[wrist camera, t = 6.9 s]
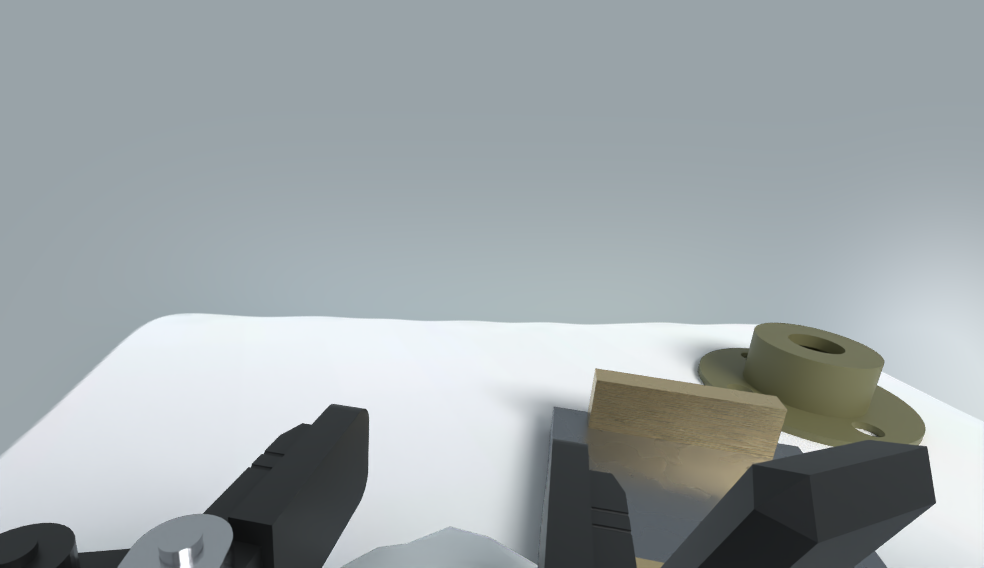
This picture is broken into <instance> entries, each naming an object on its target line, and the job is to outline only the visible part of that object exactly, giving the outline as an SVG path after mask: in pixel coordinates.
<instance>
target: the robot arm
mask: <svg viewBox="0 0 984 568" xmlns="http://www.w3.org/2000/svg"><path fill="white" fill-rule="evenodd" d="M368 447H369V414H368V411H367V410H366V409H363V408H356V407H350V406H343V405H337V404H331V405H330V406H329V407H328V408H327V409H326V410H325V411H324V412H323V413H322V414H321V415H320V416H319V417H318V419H317V420H316V421H315V422H314V423H313V424H312V425H310V424H304V423H302V424H300V425H298V426H297V427H295V428H293V429H291V430H289V431H287V432H285V433H283V434H281V435H280V436H279V437H278V438H277V439H276V440H275V441H274V442H273V443H272V444H271V445H270V446H269V447H268V448H267V449H266V450H265V453H264V454H261V455H260V456H259V457H258V458H257V459H256V460H255V461H254V462H253V463H252V466H251V468H250V467H248V468H247V469H246V470H245V471H244V472H243V473H242V474H241V475H240V477H239V478H238V479H237V480H236V481H235V482H234V483H233V484H232V485H231V486H230V487H229V488H228V489H227V490H226V491H225V492H224V493H223V494H222V495H221V496H220V497H219V498H218V499H217V500H216V501H215V502H214V503H213V504H212V505H211V506H210V507H209V508H208V509H207V510H206V511H205V512H204V513H203V514H193V515H187V516H182V517H178V518H175V519H172V520H169V521H167V522H165V523H162V524H160V525H158V526H157V527H155V528H153V529H152V530H150V531H149V532H147V533H146V534H144V535H143V536H142V537H141V538H140V539H139V540H138V541H137V542H136V543H135V544H134V545H133V546H132V548H131V549H122V550H109V551H96V552H84V553H78V551H77V546H76V540H75V535H74V533H73V531H72V530H71V529H70V528H68V527H66V526H65V525H61V524H56V523H39V524H32V525H27V526H22V527H19V528H15V529H12V530H9V531H6V532H4V533H1V534H0V568H322V566H323V565H324V563H325V561H326V560H327V558H328V556H329V554H330V553H331V551H332V549H333V548H334V546H335V544H336V542H337V541H338V539H339V537H340V536H341V534H342V532H343V530H344V529H345V527H346V525H347V524H348V522H349V520H350V518H351V517H352V515H353V513H354V512H355V510H356V508H357V506H358V505H359V503H360V501H361V499H362V496H363V493H364V490H365V487H366V482H367V477H368ZM628 514H629V512H628V505H627V499H626V492H625V491H624V490H623V488H622V487H621V485H620V484H619V483H618V481H617V480H616V478H615V477H614V475H613V474H612V473H605V472H599V471H593V470H589V453H588V444H586V443H579V442H573V441H566V440H560V439H554V438H552V443H551V450H550V458H549V466H548V473H547V481H546V488H545V496H544V504H543V512H542V521H541V531H540V543H539V555H538V568H637V565H636V558H635V552H634V545H633V538H632V535H631V525H630V519H629V517H628Z"/></svg>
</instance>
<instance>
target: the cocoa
mask: <svg viewBox="0 0 984 568" xmlns="http://www.w3.org/2000/svg"><path fill="white" fill-rule="evenodd" d="M935 503H936V500H935V494H934V487H933V481H932V475H931V468H930V462H929V455H928V449H927V446H919V445H910V444H901V443H893V442H884V441H875V440H865V441H860V442H855V443H851V444H846V445H841V446H836V447H832V448H827V449H822V450H817V451H813V452H808V453H803V454H798V455H794V456H789V457H784V458H779V459H775V460H770V461H765V462H760V463H756V464H752V465H751V466H750V467H749V469H748V470H747V471H746V472H745V473H744V474H743V475H742V476H741V478H740V479H739V480H738V481H737V482H736V483H735V484H734V485H733V487H732V488H731V489H730V490H729V491H728V492H727V493H726V494H725V496H724V497H723V498H722V499H721V500H720V501H719V502H718V503H717V505H716V506H715V507H714V508H713V509H712V510H711V511H710V512H709V514H708V515H707V516H706V517H705V518H704V519H703V520H702V521H701V523H700V524H699V525H698V526H697V527H696V528H695V529H694V531H693V532H692V533H691V534H690V535H689V536H688V537H687V538H686V540H685V541H684V542H683V543H682V544H681V545H680V546H679V547H678V549H677V550H676V551H675V552H674V553H673V554H672V555H671V556H670V558H669V559H668V560H667V561H666V562H665V563H664V564H663V565H662V567H661V568H853V567H855V566H856V565H857V564H859V563H860V562H861V561H862V560H864V559H865V558H866V557H868V556H869V555H870V554H871V553H873V552H874V551H875V550H876V549H878V548H879V547H880V546H882V545H883V544H884V543H885V542H887V541H888V540H889V539H891V538H892V537H893V536H894V535H896V534H897V533H898V532H899V531H901V530H902V529H903V528H905V527H906V526H907V525H908V524H910V523H911V522H912V521H914V520H915V519H916V518H917V517H919V516H920V515H921V514H922V513H924V512H925V511H926V510H928V509H929V508H930V507H931V506H933V505H934V504H935ZM341 568H538V565H537V564H535V563H533V562H532V561H530V560H528V559H526V558H525V557H523V556H521V555H520V554H518V553H516V552H514V551H513V550H511V549H509V548H508V547H506V546H504V545H502V544H501V543H499V542H497V541H496V540H494V539H492V538H490V537H488V536H484V535H480V534H476V533H472V532H469V531H465V530H461V529H457V528H453V527H448V528H445V529H443V530H440V531H438V532H435V533H433V534H430V535H428V536H425V537H422V538H420V539H417V540H415V541H412V542H410V543H407V544H400V545H393V546H385V547H378V548H376V549H374V550H372V551H370V552H368V553H366V554H364V555H363V556H361V557H359V558H357V559H355V560H353V561H351V562H350V563H348V564H346V565H344V566H343V567H341Z"/></svg>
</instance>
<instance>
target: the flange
mask: <svg viewBox="0 0 984 568" xmlns="http://www.w3.org/2000/svg"><path fill="white" fill-rule="evenodd" d="M746 358H747V359H746ZM883 365H884V359H883V358H882V357H881V355H879V354H878V353H877V352H875V351H874V350H872V349H871V348H869V347H867V346H865V345H863V344H861V343H859V342H856V341H854V340H851V339H849V338H846V337H843V336H840V335H837V334H834V333H831V332H827V331H823V330H820V329H816V328H811V327H806V326H801V325H795V324H786V323H764V324H760V325H757V326H756V327H755V329H754V333H753V337H752V340H751V344H750V348H729V349H721V350H716V351H712V352H710V353H708V354H706V355H705V356H703V357H702V359H701V361H700V364H699V369H698V372H699V376H700V378H701V380H702V382H703V383H704V384H705V385H706V386H713V387H719V388H726V389H732V390H739V391H745V392H752V393H758V394H765V395H771V396H777V397H778V399H779V400H780V401H781V402H782V404H783V405H784V406H785V407H786V409H787V413H786V416H785V419H784V423H783V426H782V430H781V431H783V432H786V433H788V434H791V435H794V436H797V437H800V438H803V439H807V440H810V441H813V442H817V443H821V444H825V445H829V446H833V447H836V446H841V445H846V444H851V443H855V442H860V441H865V440H875V441H884V442H893V443H901V444H910V445H919V444H920V443H921V441H922V439H923V436H924V434H925V425H924V422H923V420H922V419H921V417H920V416H919V415H918V414H917V412H916V411H915V410H914V409H912V408H911V407H910V406H909V405H908V404H907V403H905V402H904V401H902V400H901V399H900V398H898V397H897V396H895V395H893V394H892V393H890V392H888V391H887V390H885V389H883V388H881V387H879V386H877V383H878V380H879V377H880V374H881V371H882V368H883ZM855 428H859V429H863V430H866V431H869V432H871V433H874V434H875V435H877V436H879V437H874V436H870V435H867V434H864V433H862V432H860V431H858V430H857V429H855Z"/></svg>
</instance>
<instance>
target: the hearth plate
mask: <svg viewBox="0 0 984 568" xmlns="http://www.w3.org/2000/svg"><path fill="white" fill-rule="evenodd" d="M786 413H787V409H786V407H785V406H784V405H783V404H782V402H781V401H780V400H779V399H778V397H777V396H771V395H765V394H758V393H752V392H745V391H739V390H732V389H726V388H719V387H713V386H706V385H700V384H693V383H687V382H680V381H674V380H667V379H661V378H654V377H648V376H641V375H635V374H628V373H622V372H615V371H609V370H602V369H596V368H595V374H594V380H593V386H592V391H591V397H590V403H589V409H588V412H583V411H577V410H571V409H565V408H559V407H554V410H553V417H552V424H551V432H550V446H549V458H550V450H551V443H552V438H554V439H560V440H566V441H573V442H579V443H586V444H588V453H589V470H593V471H599V472H605V473H612V474H613V475H614V477H615V478H616V480H617V481H618V483H619V484H620V485H621V487H622V488H623V490H624V491H625V492H626V499H627V505H628V512H629V514H628V517H629V519H630V525H631V535H632V538H633V545H634V552H635V558H636V565H637V568H661V567H662V565H663V564H664V563H665V562H666V561H667V560H668V559H669V558H670V556H671V555H672V554H673V553H674V552H675V551H676V550H677V549H678V547H679V546H680V545H681V544H682V543H683V542H684V541H685V540H686V538H687V537H688V536H689V535H690V534H691V533H692V532H693V531H694V529H695V528H696V527H697V526H698V525H699V524H700V523H701V521H702V520H703V519H704V518H705V517H706V516H707V515H708V514H709V512H710V511H711V510H712V509H713V508H714V507H715V506H716V505H717V503H718V502H719V501H720V500H721V499H722V498H723V497H724V496H725V494H726V493H727V492H728V491H729V490H730V489H731V488H732V487H733V485H734V484H735V483H736V482H737V481H738V480H739V479H740V478H741V476H742V475H743V474H744V473H745V472H746V471H747V470H748V469H749V467H750V466H751V465H752V464H756V463H760V462H765V461H770V460H775V459H779V458H784V457H789V456H794V455H798V454H803V453H802V451H801V450H800V449H799V447H797V446H791V445H785V444H779V443H778V440H779V436H780V433H781V430H782V426H783V423H784V419H785V416H786ZM548 466H549V460H548ZM853 568H887V567H886V565H885V564H884V563H883V561H882V560H881V559H880V557H879V556H878V555H877V553H876V552H875V551H874V552H873V553H871V554H870V555H869V556H868V557H866V558H865V559H864V560H862V561H861V562H860V563H859V564H857V565H856V566H855V567H853Z"/></svg>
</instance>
